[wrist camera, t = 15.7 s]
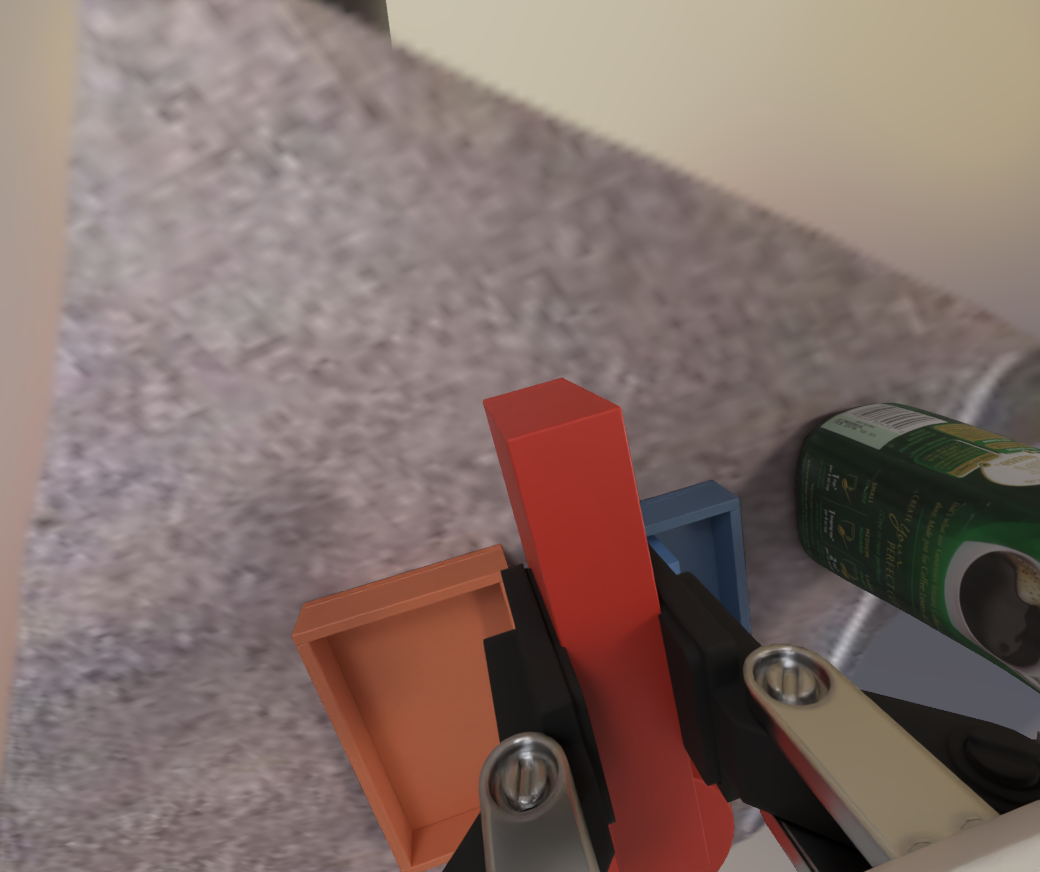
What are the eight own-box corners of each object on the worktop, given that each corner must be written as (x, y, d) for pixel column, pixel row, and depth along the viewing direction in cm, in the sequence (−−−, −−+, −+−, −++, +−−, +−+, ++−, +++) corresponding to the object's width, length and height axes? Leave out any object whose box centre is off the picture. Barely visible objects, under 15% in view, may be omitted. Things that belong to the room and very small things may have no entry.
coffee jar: (900, 536, 30) (1545, 867, 13) (786, 566, 29) (1318, 971, 12) (915, 385, 27) (1778, 551, 10) (788, 413, 26) (1502, 654, 9)
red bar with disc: (421, 416, 10) (417, 466, 7) (619, 360, 11) (702, 382, 7) (562, 859, 14) (602, 1026, 11) (704, 805, 14) (783, 948, 11)
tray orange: (303, 602, 24) (290, 636, 22) (500, 543, 25) (508, 569, 23) (405, 832, 30) (404, 879, 27) (564, 775, 31) (576, 814, 29)
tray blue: (533, 533, 26) (545, 557, 23) (712, 479, 27) (739, 497, 24) (591, 765, 31) (605, 804, 29) (737, 712, 32) (761, 746, 30)
